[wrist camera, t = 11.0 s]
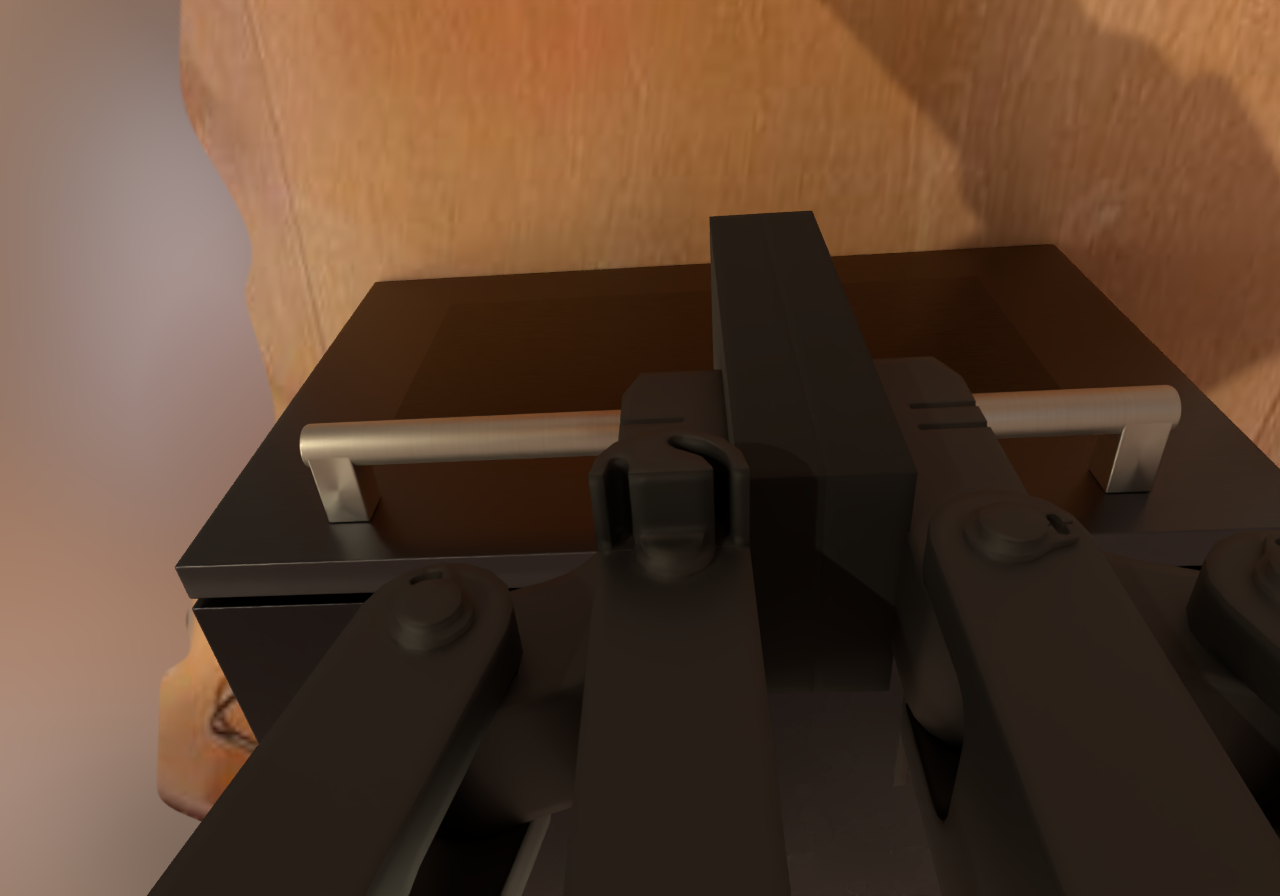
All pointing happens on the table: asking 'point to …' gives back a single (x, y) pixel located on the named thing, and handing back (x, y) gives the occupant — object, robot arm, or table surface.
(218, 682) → the table surface
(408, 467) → the oven door
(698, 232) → the table surface
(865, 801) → the oven
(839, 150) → the table surface
